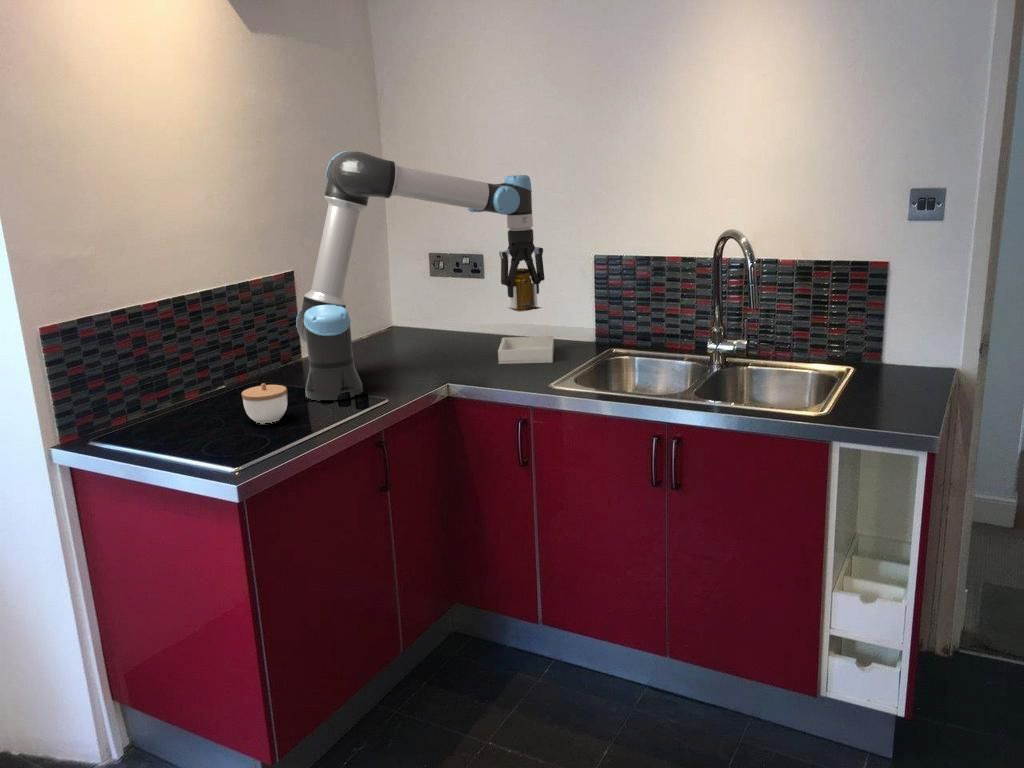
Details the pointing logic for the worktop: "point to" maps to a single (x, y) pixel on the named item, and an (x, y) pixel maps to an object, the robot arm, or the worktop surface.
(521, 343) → the tray
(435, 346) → the worktop surface
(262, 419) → the lidded jar
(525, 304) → the condiment
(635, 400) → the worktop surface
